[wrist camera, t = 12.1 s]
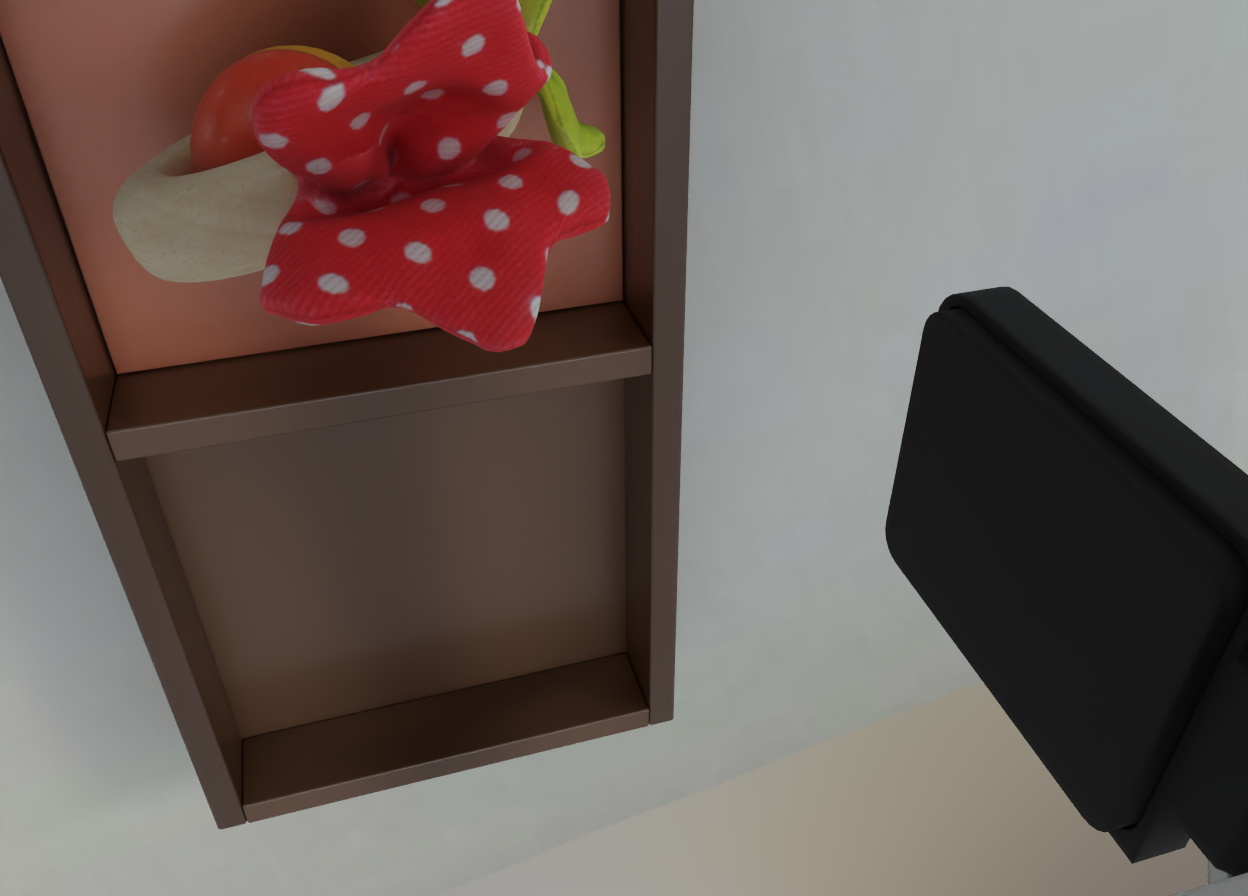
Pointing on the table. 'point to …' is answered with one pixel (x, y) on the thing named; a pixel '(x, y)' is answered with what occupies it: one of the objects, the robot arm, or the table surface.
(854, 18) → the table surface
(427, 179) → the bird rattle
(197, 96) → the wooden divided tray
